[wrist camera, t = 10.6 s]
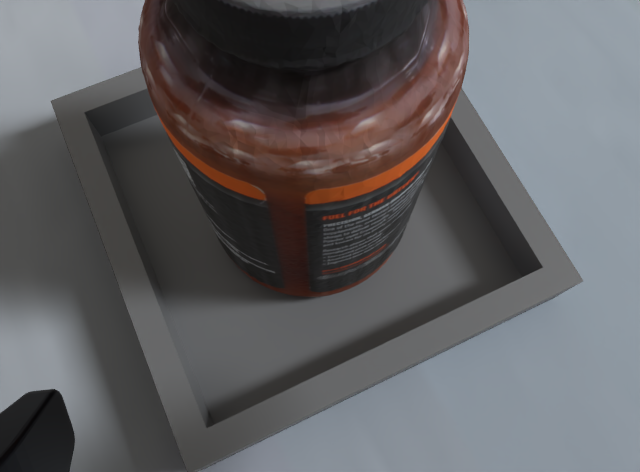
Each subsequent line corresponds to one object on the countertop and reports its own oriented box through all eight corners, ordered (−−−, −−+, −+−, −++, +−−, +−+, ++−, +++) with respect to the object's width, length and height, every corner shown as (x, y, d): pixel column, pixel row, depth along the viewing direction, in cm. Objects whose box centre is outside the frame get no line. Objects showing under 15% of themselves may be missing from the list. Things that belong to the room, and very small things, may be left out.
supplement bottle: (438, 181, 19) (607, -162, 8) (341, 340, 17) (392, 175, 6) (281, 94, 20) (244, -316, 9) (175, 237, 18) (-27, -59, 7)
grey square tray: (554, 297, 18) (583, 280, 16) (202, 469, 16) (188, 474, 14) (383, 15, 21) (389, -26, 19) (75, 133, 20) (50, 100, 18)
